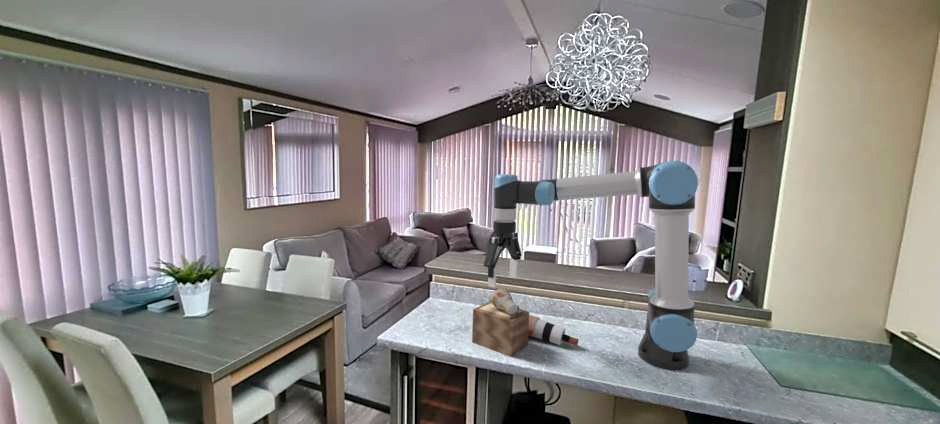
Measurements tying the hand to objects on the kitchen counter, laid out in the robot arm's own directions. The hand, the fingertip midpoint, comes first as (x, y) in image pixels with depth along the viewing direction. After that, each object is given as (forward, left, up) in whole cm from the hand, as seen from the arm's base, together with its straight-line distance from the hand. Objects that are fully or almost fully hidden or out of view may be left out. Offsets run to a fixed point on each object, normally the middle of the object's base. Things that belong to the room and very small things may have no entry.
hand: (503, 282), depth 133 cm
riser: (0, 0, -22) cm, 22 cm away
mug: (-2, 0, -10) cm, 10 cm away
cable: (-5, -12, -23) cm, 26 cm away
